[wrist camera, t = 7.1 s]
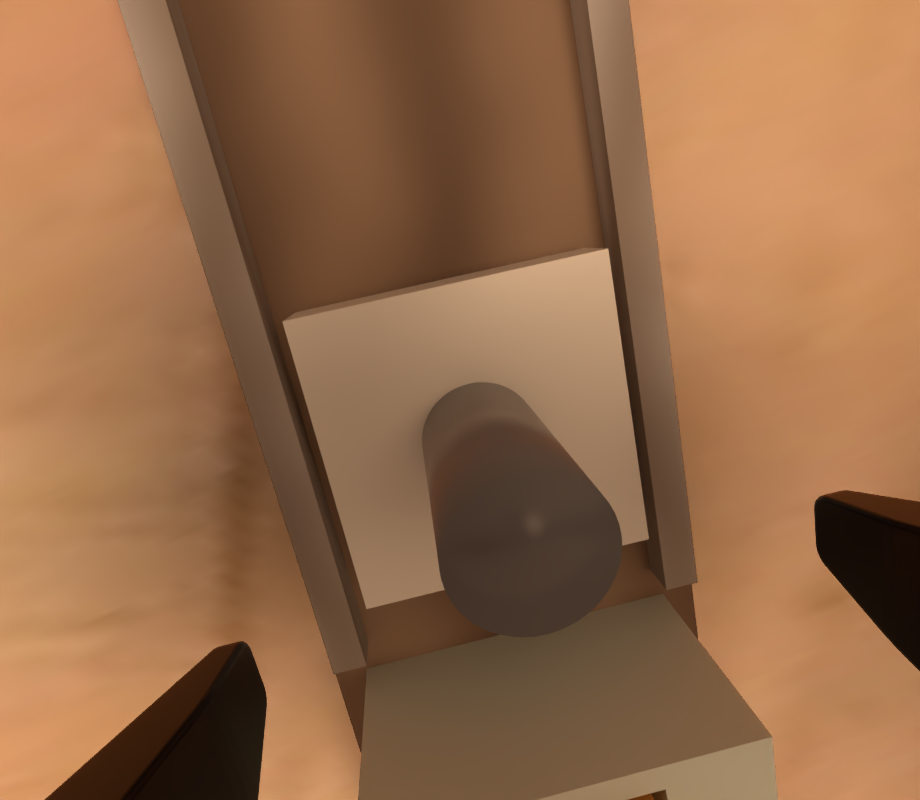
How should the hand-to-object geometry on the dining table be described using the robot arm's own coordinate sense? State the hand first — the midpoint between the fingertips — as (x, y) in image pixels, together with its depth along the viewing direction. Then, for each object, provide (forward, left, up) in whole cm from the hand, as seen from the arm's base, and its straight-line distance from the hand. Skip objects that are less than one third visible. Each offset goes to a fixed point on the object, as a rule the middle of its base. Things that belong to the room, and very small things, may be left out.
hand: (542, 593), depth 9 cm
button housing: (0, +10, -9) cm, 14 cm away
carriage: (0, 0, -9) cm, 9 cm away
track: (0, 0, -11) cm, 11 cm away
